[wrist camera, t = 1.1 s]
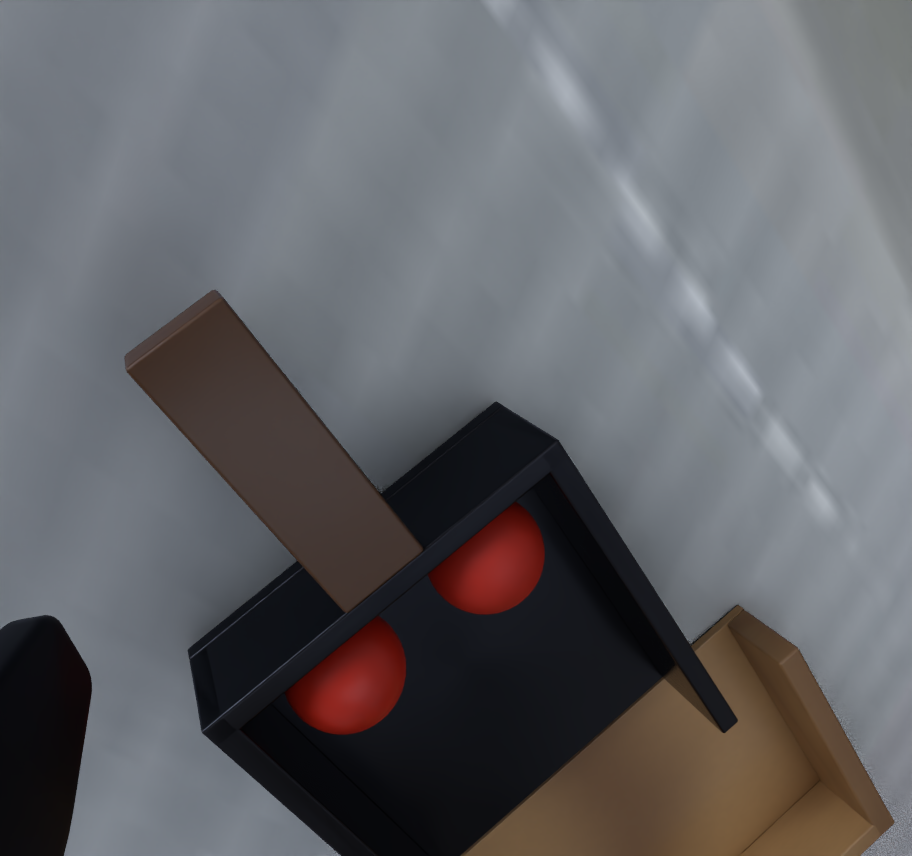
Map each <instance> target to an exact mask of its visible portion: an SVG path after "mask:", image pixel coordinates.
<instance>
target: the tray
mask: <svg viewBox="0 0 912 856" xmlns="http://www.w3.org/2000/svg"><path fill="white" fill-rule="evenodd" d="M691 647H692V648H693V650H694V652H695V653H696V655H697V656H698V658H699V659H700V661H701V662H702V664H703V666H704V667H705V669H706V670H707V672H708V673H709V675H710V676H711V678H712V680H713V681H714V683H715V684H716V686H717V687H718V689H719V690H720V692H721V694H722V695H723V697H724V698H725V700H726V701H727V703H728V704H729V706H730V708H731V709H732V711H733V712H734V714H735V715H736V717H737V719H738V722H737V723H736V724H735V725H734V726H733V727H731V728H730V729H729V730H728V731H727V732H726V733H722V732H721V731H720V730H719V729H718V728H717V727H715V726H714V725H713V724H712V723H711V722H710V721H709V720H708V719H707V718H706V717H705V716H704V715H703V714H701V713H700V712H699V711H698V710H697V709H696V708H695V707H694V706H693V705H692V704H691V703H690V702H689V701H688V700H686V699H685V698H684V697H683V696H682V695H681V694H680V693H679V692H678V691H677V690H676V689H675V688H674V687H672V686H671V685H670V684H669V683H668V682H667V681H666V680H665V679H664V678H663V677H662V678H661V679H660V680H659V681H658V682H657V683H656V684H654V685H653V686H652V687H651V688H650V689H649V690H648V691H647V692H645V693H644V694H643V695H642V696H641V697H640V698H639V699H638V700H636V701H635V702H634V703H633V704H632V705H631V706H630V707H628V708H627V709H626V710H625V711H624V712H623V713H622V714H621V715H619V716H618V717H617V718H616V719H615V720H614V721H613V722H611V723H610V724H609V725H608V726H607V727H606V728H605V729H604V730H602V731H601V732H600V733H599V734H598V735H597V736H596V737H594V738H593V739H592V740H591V741H590V742H589V743H588V744H587V745H585V746H584V747H583V748H582V749H581V750H580V751H579V752H577V753H576V754H575V755H574V756H573V757H572V758H571V759H570V760H568V761H567V762H566V763H565V764H564V765H563V766H562V767H560V768H559V769H558V770H557V771H556V772H555V773H554V774H553V775H551V776H550V777H549V778H548V779H547V780H546V781H545V782H543V783H542V784H541V785H540V786H539V787H538V788H537V789H536V790H534V791H533V792H532V793H531V794H530V795H529V796H528V797H526V798H525V799H524V800H523V801H522V802H521V803H520V804H519V805H517V806H516V807H515V808H514V809H513V810H512V811H511V812H509V813H508V814H507V815H506V816H505V817H504V818H503V819H502V820H500V821H499V822H498V823H497V824H496V825H495V826H494V827H492V828H491V829H490V830H489V831H488V832H487V833H486V834H485V835H483V836H482V837H481V838H480V839H479V840H478V841H477V842H475V843H474V844H473V845H472V846H471V847H470V848H469V849H468V850H466V851H465V852H464V853H463V854H462V855H461V856H860V855H861V854H862V853H863V852H864V851H865V850H867V849H868V848H869V847H870V846H871V845H872V844H873V843H874V842H875V841H876V840H877V839H878V838H879V837H880V836H881V835H882V834H883V833H884V832H885V831H886V830H888V829H889V828H890V827H891V826H892V825H893V824H894V820H893V818H892V816H891V815H890V813H889V811H888V810H887V808H886V806H885V804H884V802H883V801H882V799H881V797H880V795H879V793H878V792H877V790H876V788H875V786H874V784H873V783H872V781H871V779H870V777H869V775H868V774H867V772H866V770H865V768H864V766H863V765H862V763H861V761H860V759H859V757H858V755H857V754H856V752H855V750H854V748H853V746H852V745H851V743H850V741H849V739H848V737H847V736H846V734H845V732H844V730H843V728H842V727H841V725H840V723H839V721H838V719H837V718H836V716H835V714H834V712H833V710H832V709H831V707H830V705H829V703H828V701H827V699H826V698H825V696H824V694H823V692H822V690H821V689H820V687H819V685H818V683H817V681H816V680H815V678H814V676H813V674H812V672H811V671H810V669H809V667H808V665H807V663H806V662H805V660H804V658H803V656H802V654H801V653H800V651H799V649H798V647H796V646H795V645H793V644H792V643H790V642H789V641H788V640H786V639H785V638H783V637H782V636H781V635H779V634H778V633H776V632H775V631H774V630H772V629H771V628H769V627H768V626H766V625H765V624H764V623H762V622H761V621H759V620H758V619H757V618H755V617H754V616H752V615H751V614H750V613H748V612H747V611H745V610H744V609H743V608H742V607H740V606H739V605H737V606H736V607H735V608H734V609H733V610H731V611H730V612H729V613H728V614H727V615H726V616H725V617H724V618H722V619H721V620H720V621H719V622H718V623H717V624H716V625H714V626H713V627H712V628H711V629H710V630H709V631H708V632H707V633H705V634H704V635H703V636H702V637H701V638H700V639H699V640H697V641H696V642H695V643H694V644H693V645H692V646H691Z"/></svg>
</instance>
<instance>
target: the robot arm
mask: <svg viewBox="0 0 912 856" xmlns="http://www.w3.org/2000/svg"><path fill="white" fill-rule="evenodd" d="M91 693H92V682H91V676H90V673H89V670H88V668H87V666H86V664H85V662H84V661H83V659H82V657H81V656H80V654H79V652H78V651H77V649H76V647H75V646H74V644H73V642H72V641H71V639H70V637H69V636H68V634H67V632H66V631H65V629H64V627H63V626H62V624H61V623H60V622H59V620H57V619H56V618H55V617H53V616H48V615H43V616H37V617H32V618H26V619H21V620H16V621H13V622H10V623H8V624H7V625H5V626H4V627H3V628H2V629H1V630H0V856H64V852H65V848H66V844H67V840H68V836H69V831H70V825H71V820H72V815H73V809H74V803H75V796H76V790H77V784H78V777H79V771H80V764H81V758H82V752H83V745H84V739H85V732H86V726H87V720H88V713H89V707H90V700H91Z"/></svg>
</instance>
